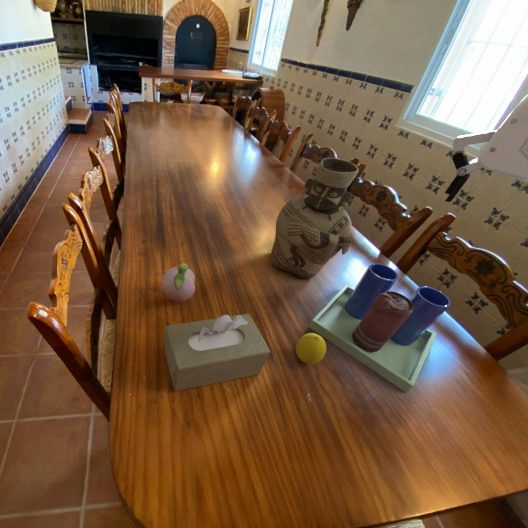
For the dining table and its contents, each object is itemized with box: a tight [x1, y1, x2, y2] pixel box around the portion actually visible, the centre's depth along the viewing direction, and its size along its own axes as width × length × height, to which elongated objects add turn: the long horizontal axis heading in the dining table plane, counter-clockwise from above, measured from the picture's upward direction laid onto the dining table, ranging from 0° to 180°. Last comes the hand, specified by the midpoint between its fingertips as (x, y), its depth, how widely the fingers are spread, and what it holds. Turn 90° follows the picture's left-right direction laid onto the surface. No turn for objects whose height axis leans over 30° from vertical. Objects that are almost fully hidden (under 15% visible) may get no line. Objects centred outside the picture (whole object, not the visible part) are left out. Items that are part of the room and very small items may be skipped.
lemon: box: [295, 332, 327, 365], centre depth 62 cm, size 6×6×8 cm
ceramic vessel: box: [270, 157, 359, 280], centre depth 81 cm, size 19×21×30 cm
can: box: [352, 290, 413, 352], centre depth 64 cm, size 6×6×14 cm
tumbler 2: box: [390, 285, 452, 346], centre depth 67 cm, size 6×6×14 cm
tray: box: [308, 283, 438, 393], centre depth 70 cm, size 22×20×3 cm
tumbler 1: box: [344, 262, 399, 320], centre depth 72 cm, size 6×6×14 cm
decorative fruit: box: [161, 262, 196, 303], centre depth 73 cm, size 9×8×10 cm
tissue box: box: [163, 313, 271, 392], centre depth 57 cm, size 19×10×16 cm, turn 104°
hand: (487, 212), depth 44 cm, fingers open, 9 cm apart
